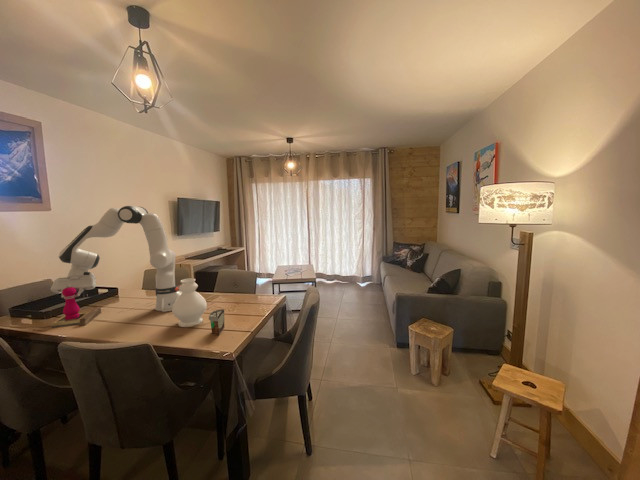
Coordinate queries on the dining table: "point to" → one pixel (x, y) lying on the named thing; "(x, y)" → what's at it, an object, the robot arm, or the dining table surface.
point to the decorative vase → (189, 304)
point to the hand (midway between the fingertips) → (70, 296)
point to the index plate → (68, 321)
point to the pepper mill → (70, 303)
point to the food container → (217, 321)
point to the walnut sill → (90, 316)
